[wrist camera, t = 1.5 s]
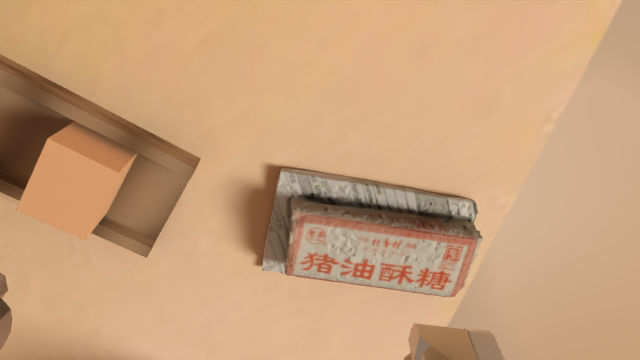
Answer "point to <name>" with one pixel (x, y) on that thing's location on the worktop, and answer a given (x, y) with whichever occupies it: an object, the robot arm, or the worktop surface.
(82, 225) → the orange block
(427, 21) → the worktop surface
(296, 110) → the worktop surface
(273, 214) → the packaged product
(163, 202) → the track
